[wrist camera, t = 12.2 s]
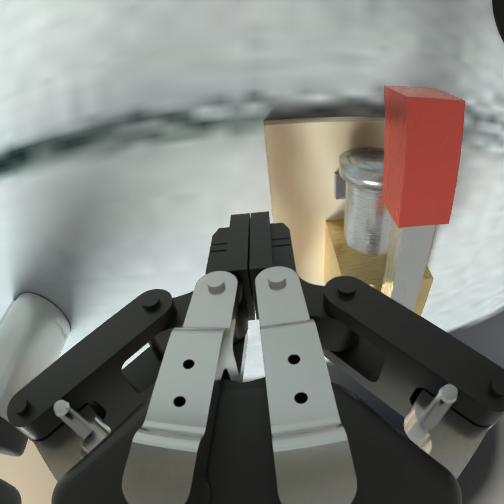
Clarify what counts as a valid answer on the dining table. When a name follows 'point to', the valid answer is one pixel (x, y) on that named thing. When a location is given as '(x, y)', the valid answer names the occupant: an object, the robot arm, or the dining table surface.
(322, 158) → the mounting board
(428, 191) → the lever
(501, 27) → the wine glass
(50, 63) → the dining table surface
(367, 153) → the valve
